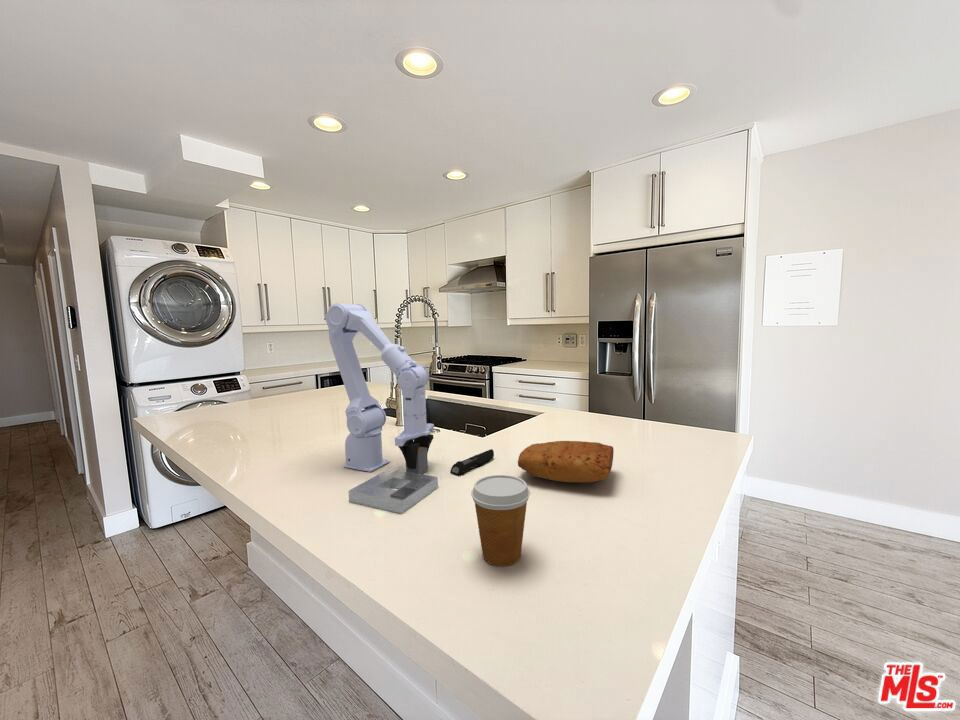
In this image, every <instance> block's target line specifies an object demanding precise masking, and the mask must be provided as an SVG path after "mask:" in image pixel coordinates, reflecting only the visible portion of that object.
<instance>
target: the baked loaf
mask: <svg viewBox="0 0 960 720" xmlns="http://www.w3.org/2000/svg"><path fill="white" fill-rule="evenodd" d="M613 463H614V447H613V446H612V445H608V444H605V443H604V444H603V443H601V442H595V441H593V442H591V441H580V440H579V441H578V440H555V441H549V442H542V443H541V442H540V443H538V442H537V443H533V444H530V445H528V446H527V447H525V448H524V449H523V450H522V451H520V453H519V455H518V460H517V466H518V467H519V468H520V469H521V470H523V471H525V472H526V473H527V474H529V475H533V476H534V477H536V478H537V477H539V478H542V479H546V480H549V481H550V480H551V481H555V482H563V483H595V482H598V481H602V480H606V479H607V478H608V477H609V475H610V473H611V470H612V469H613Z"/></svg>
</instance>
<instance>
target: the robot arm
mask: <svg viewBox="0 0 960 720" xmlns="http://www.w3.org/2000/svg"><path fill="white" fill-rule="evenodd" d="M324 319H325V323H326V324H327V328H328V339H329V344H330V346H331V350H332V352H333V356H334V358H335V362H336V365H337V368H338V371H339V373H340V376H341V380H342V382H343V385H344V388H345V391H346V395H347V397H348V400H349V404H348V405H347V407H346V409H345V411H344V412H345V416H346V428H347V431H348V432H349V434H347V437H346V439H345V442H344V448H345V449H344V450H345V453H344V454H345V464H344V465H343V468H348V469H353V470H358V471H363V472H369V473H371V472H373V471H375V470H377V469H380V468H381V467H383V466H385V465H387V464H389V463H390V462H391V461H390V460H389V459H384V458H383V442H382V431H383V426H385V424H386V422H387V415H386V411H385V410H384V409H383V408H382V407H381V405H380V403H379V400H378V399H377V398H375V397H374V396H372V395H371V393H370V390H369V388H368V384H367V382H366V379H365V376H364V372H363V370H362V367H361V364H360V361H359V359H358V355H357V353H356V349H355V347H354V343H353V340H354V338H355V337H356V336H357V335H358V334H359V333H362V334H363V336H364V337H366V338H367V340H368V341H369V342H371V343H372V344H373V346H375V347H376V348H377V350H379V351H380V352H381V354H380V355H381V357H380V359H381V360H382V362H383V363H384V364H385V365H386V366H387V367H388V368H389V370H390V371H391V372H392V373H393V374H394V375H395V376H396V377H397V379H396V382H397V385H398V387H399V388H400V390H401V396H402V410H403V412H402V413H403V430H402V432H401V433H400V434H398V436H395V437H394V446H397V447H398V448H399V450H400V451H401V453H402V455H403V457H404V460H405V465H406V464H407V468H409V469H415V468H416V461H417V451H418V448H419V446H420V447H427V455H428V454H429V453H428V452H429V449H430V447H431V444H432V442H433V440H434V434H432V433H433V432H434V431H435V424H434V423H427V407H426V406H427V404H426V403H427V401H426V400H427V399H426V397H427V396H426V395H427V394H426V385H427V384H428V383H429V379H430V374H429V372H428V370H427V368H426V367H425V366H424V365H421V364H417V361H416V360H414V359H412V357H410V356H409V355H408V353H407V352H406V351H405V350H406V348H405V347H404V346H403V345H399V344H397V343H392V342H391V341H390V339H389V338H388V337H387V335H386V334H385V333H384V332H383V330H382V329H381V328H380V327H379V325H378V324H377V323H376V321H375V320H374V319H373V316H372V313H371V311H369V310H368V309H367V308H366V306H364V304H363V305H362V304H361V303H356V304H352V303H351V304H348V303H347V304H346V303H337V302H335V303H333V304H331V305H330V306H329V308H328V309H327V311H326V314H325V316H324Z"/></svg>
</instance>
